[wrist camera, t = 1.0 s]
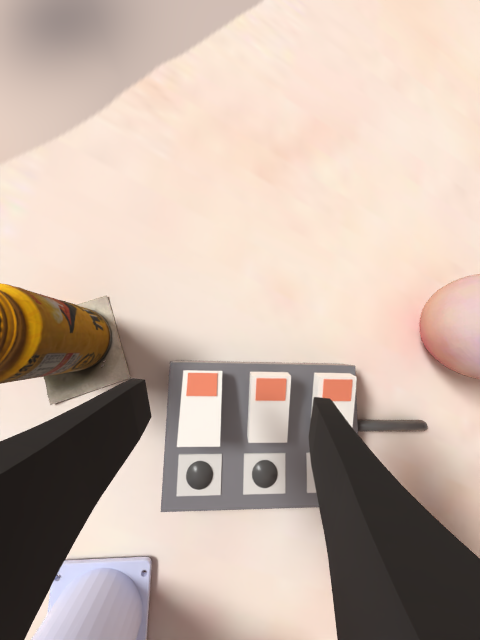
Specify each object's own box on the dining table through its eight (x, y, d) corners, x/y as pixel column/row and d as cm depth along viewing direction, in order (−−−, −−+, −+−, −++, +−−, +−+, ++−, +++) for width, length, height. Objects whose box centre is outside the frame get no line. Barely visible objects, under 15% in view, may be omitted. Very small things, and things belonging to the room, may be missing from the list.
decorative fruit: (415, 274, 26) (536, 228, 16) (475, 314, 26) (633, 293, 16) (376, 343, 24) (483, 340, 14) (439, 386, 24) (589, 412, 14)
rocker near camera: (344, 435, 20) (351, 442, 19) (309, 435, 20) (314, 443, 19) (350, 373, 20) (357, 377, 19) (313, 372, 19) (319, 377, 18)
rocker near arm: (219, 444, 18) (219, 446, 17) (179, 444, 18) (176, 447, 17) (222, 372, 20) (222, 370, 19) (185, 371, 20) (183, 370, 19)
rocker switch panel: (425, 486, 23) (452, 504, 20) (167, 492, 21) (160, 513, 18) (417, 365, 24) (441, 367, 22) (175, 360, 22) (169, 362, 20)
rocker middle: (283, 435, 20) (287, 443, 19) (247, 435, 19) (248, 443, 18) (287, 372, 19) (291, 376, 18) (250, 371, 19) (251, 375, 18)
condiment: (107, 295, 23) (-17, 238, 11) (131, 377, 22) (25, 412, 10) (31, 318, 22) (-195, 283, 10) (53, 404, 21) (-164, 476, 9)
